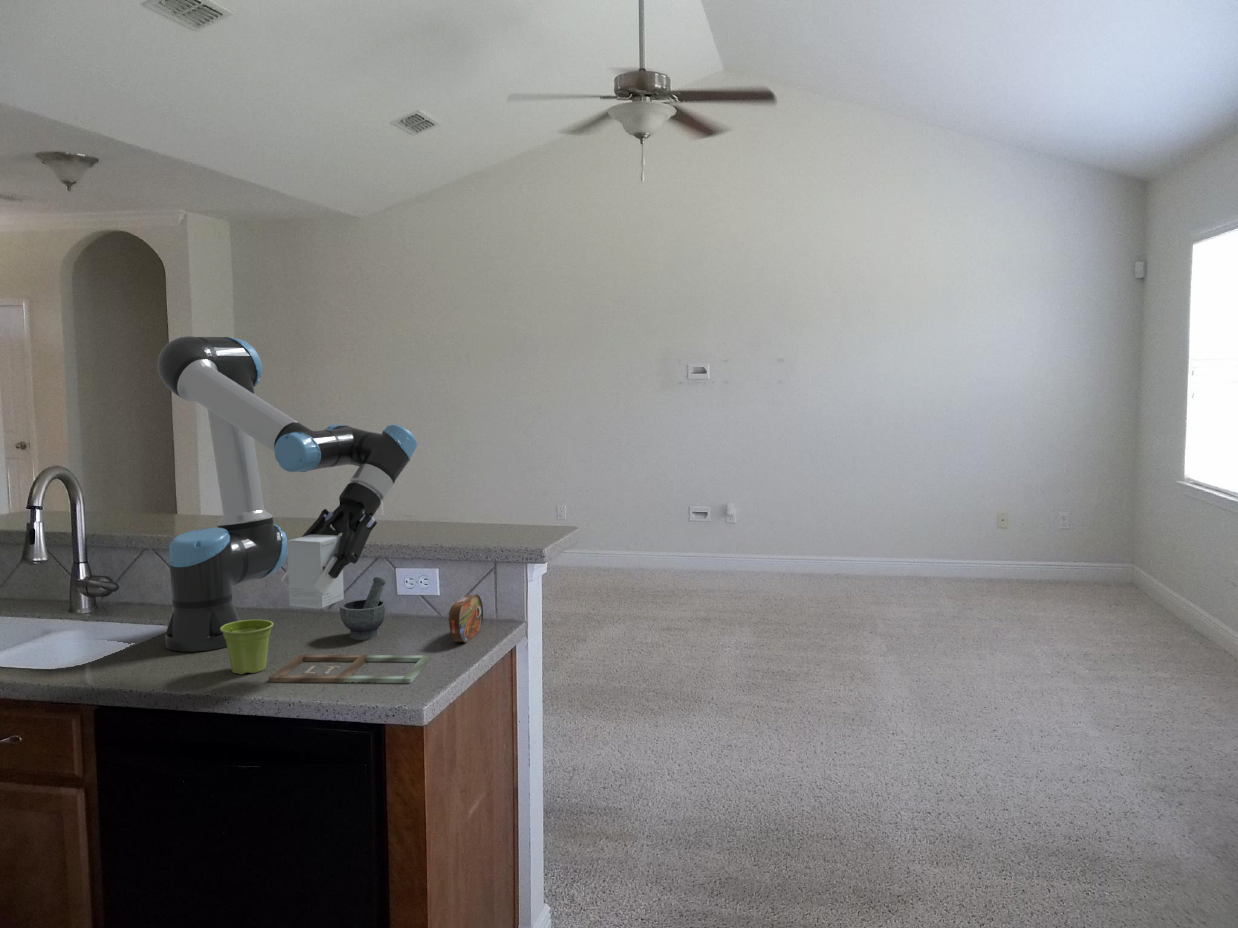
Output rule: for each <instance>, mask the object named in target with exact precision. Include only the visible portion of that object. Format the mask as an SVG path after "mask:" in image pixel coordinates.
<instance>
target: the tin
mask: <svg viewBox="0 0 1238 928" xmlns="http://www.w3.org/2000/svg"><path fill="white" fill-rule="evenodd" d="M448 622H449V623H448V625H449V634H450V638H451V640H452V641H453V642H454V643H466V644H467V643H468V642H470V641H471V640H472V639H473V638H474V637H475V636H476V635H478V634H479V633H480V632H481V630H482V627H483V623H484V607H483V601H482V599H481V597H480V595H479V594H476V593H475V594H467V595H464V596H463V597H461V598H460V599H459V600H458V601H456V602H454V603H453V604H452V606H451V607H450V609H449V613H448Z"/></svg>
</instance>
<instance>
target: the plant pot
mask: <svg viewBox="0 0 1238 928" xmlns="http://www.w3.org/2000/svg"><path fill="white" fill-rule="evenodd" d="M273 627H274V622H273V621H272V620H271V621H270V620H267V619H245V620H240V621H236V622H231V623H228V624H225V625H223V626H222V627H221V628H220V630H221V632H223V635H224V638H225V639H226V644H227V646H226V648H227V653H228V658H229V663H230V669H231V672H232V673H233V674H237V673H238V674H239V675H244V674H246V673H250V674H256V673H258V672H262V671H264V670H266V667H267V659H268V648H269V640H270V635H271V634H272V633H271V632H272V628H273ZM238 674H237V675H238Z"/></svg>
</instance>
